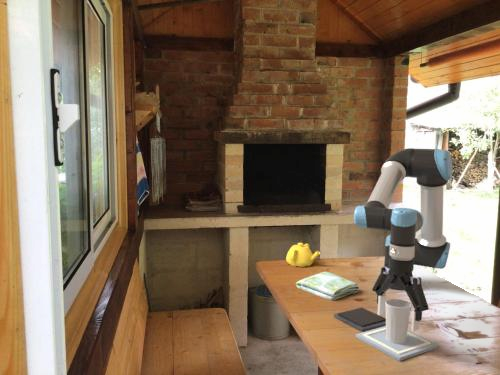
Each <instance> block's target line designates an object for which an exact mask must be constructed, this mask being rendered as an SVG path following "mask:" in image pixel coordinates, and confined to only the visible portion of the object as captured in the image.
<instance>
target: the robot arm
mask: <svg viewBox="0 0 500 375" xmlns="http://www.w3.org/2000/svg"><path fill="white" fill-rule="evenodd" d="M380 173H381V174H380V176H379V177H378V180H377V182H376V184H375V185H374V188H373V189H372V192H371V193H370V196H369V198H368V200H367V202H366V204H365V205H358V206H355V209H354V212H353V222H354V225H355V226H356V227H358V228H364V229H371V230H377V231H378V230H379V231H387V232H388V231H389V232H390V233H389V235H386V238H385V244H384V246H385V247H384V263H383V267H381V268H380V274H379V276H378V278H377V279H376V281H375V282H374V285H373V287H372V291H373V292H375V293H376V295H377V296H376V303H377V315H380V316H382V315H386V310H385V301H386V299H387V295H386V292H387V291H388V290H390V289H391V290H397V291H398V290H401V291H402V290H403V291H404V292H405V293H406V295H407V297H408V298H409V300H410V304H411V306H412V307H413V309H412V312H411V313H412V314H411V325H410V326H411V328H410V330H411V332H415V331H418V330H420V321H422V318H423V312H425V311H428V310H429V305H428V301H427V298H426V295H425V293H424V289H423V285H422V278H421V277H420V276H418V277H415V276H414V275H413V271H414V268H415V267H414V266H419V267H420V266H421V267H426V268H427V267H428V268H433V269H438V270H439V269H441V270H442V269H443V270H444V268H446V265H447V264H448V263H447V262H448V258H449V253H450V249H451V243H450V242H448V241H447V237H446V236H445V235H444V233H443V231H444V228H443V227H444V222H443V221H444V187H445V186H447V184H448V182H449V181H450V180H451V179H452V178H453V159H452V155H451V153H450V151H449V150H447V149H439V148H413V147H411V148H410V147H409V148H404V149H401V150H398V151H396V152H395V153H393V154H391V155H390V156H389V157H388V158H387V159H386V160H385V161H384V162H383V164H382V166H381V168H380ZM405 178H415V179H416V183H417V185H418V186H420V211H419V210H417V209H413V208H408V207H396V208H389V207H390V205H391V203H392V200H393V198H394V197H395V196H394V195H395V194H396V192H397V189H398V187H399V184H400V183H401V182H402V181H403V180H404V179H405ZM419 231H420V234H418V235H416V234H417V232H419ZM416 236H417V237H416Z"/></svg>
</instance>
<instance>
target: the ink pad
mask: <svg viewBox="0 0 500 375" xmlns="http://www.w3.org/2000/svg"><path fill="white" fill-rule="evenodd" d="M333 318H335V319H336V320H339V321H340V322H342V323H344V324H346V325H348V326H350V327H352V328H354V329H356V330H358V331H359V332H360V333H362V332H366V331H369V330H373V329H376V328H380V327H383V326H386V317H384V316H382V315H378V313H375V312H373V311H371V310H368V309H366V308H364V307H358V308H354V309H350V310H345V311H340V312H337V313H333Z"/></svg>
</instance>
